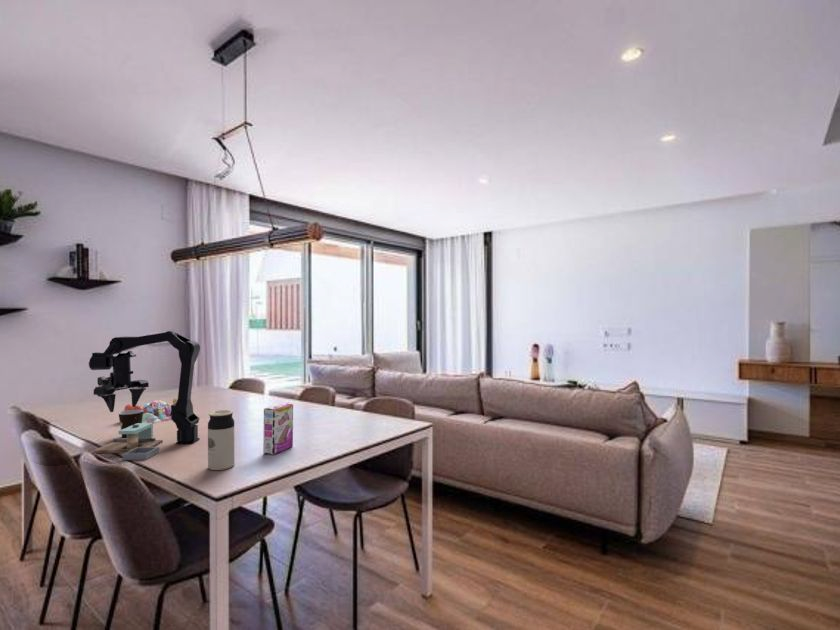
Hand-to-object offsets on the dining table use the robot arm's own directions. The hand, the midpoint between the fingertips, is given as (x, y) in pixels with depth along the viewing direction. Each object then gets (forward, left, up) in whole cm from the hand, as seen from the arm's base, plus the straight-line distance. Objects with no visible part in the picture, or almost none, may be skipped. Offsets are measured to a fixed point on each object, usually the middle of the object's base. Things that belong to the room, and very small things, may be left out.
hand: (123, 409), depth 173 cm
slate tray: (-16, +16, -14) cm, 26 cm away
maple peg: (-8, +7, -14) cm, 17 cm away
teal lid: (-8, +5, -11) cm, 14 cm away
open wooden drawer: (-5, +5, -13) cm, 15 cm away
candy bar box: (-63, +11, -14) cm, 65 cm away
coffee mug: (+3, -10, -14) cm, 17 cm away
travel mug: (-49, +28, -14) cm, 58 cm away
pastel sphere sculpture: (+12, -44, -14) cm, 48 cm away
